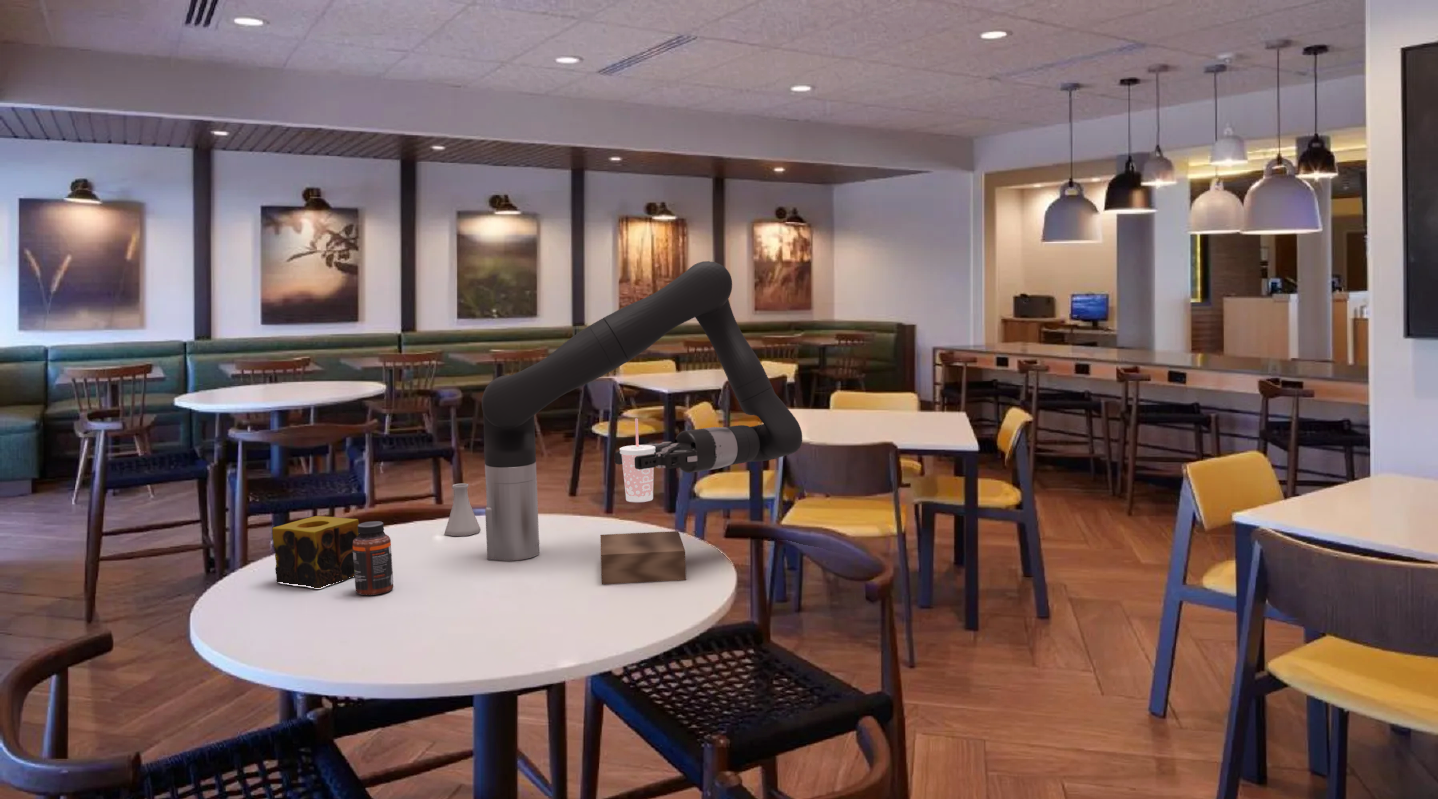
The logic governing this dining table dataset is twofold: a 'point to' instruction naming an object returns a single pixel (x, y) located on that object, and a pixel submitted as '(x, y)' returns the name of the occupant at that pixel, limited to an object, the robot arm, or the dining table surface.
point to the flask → (461, 514)
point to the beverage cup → (637, 471)
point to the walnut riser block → (642, 557)
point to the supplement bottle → (372, 559)
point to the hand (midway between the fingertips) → (625, 460)
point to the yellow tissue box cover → (315, 550)
